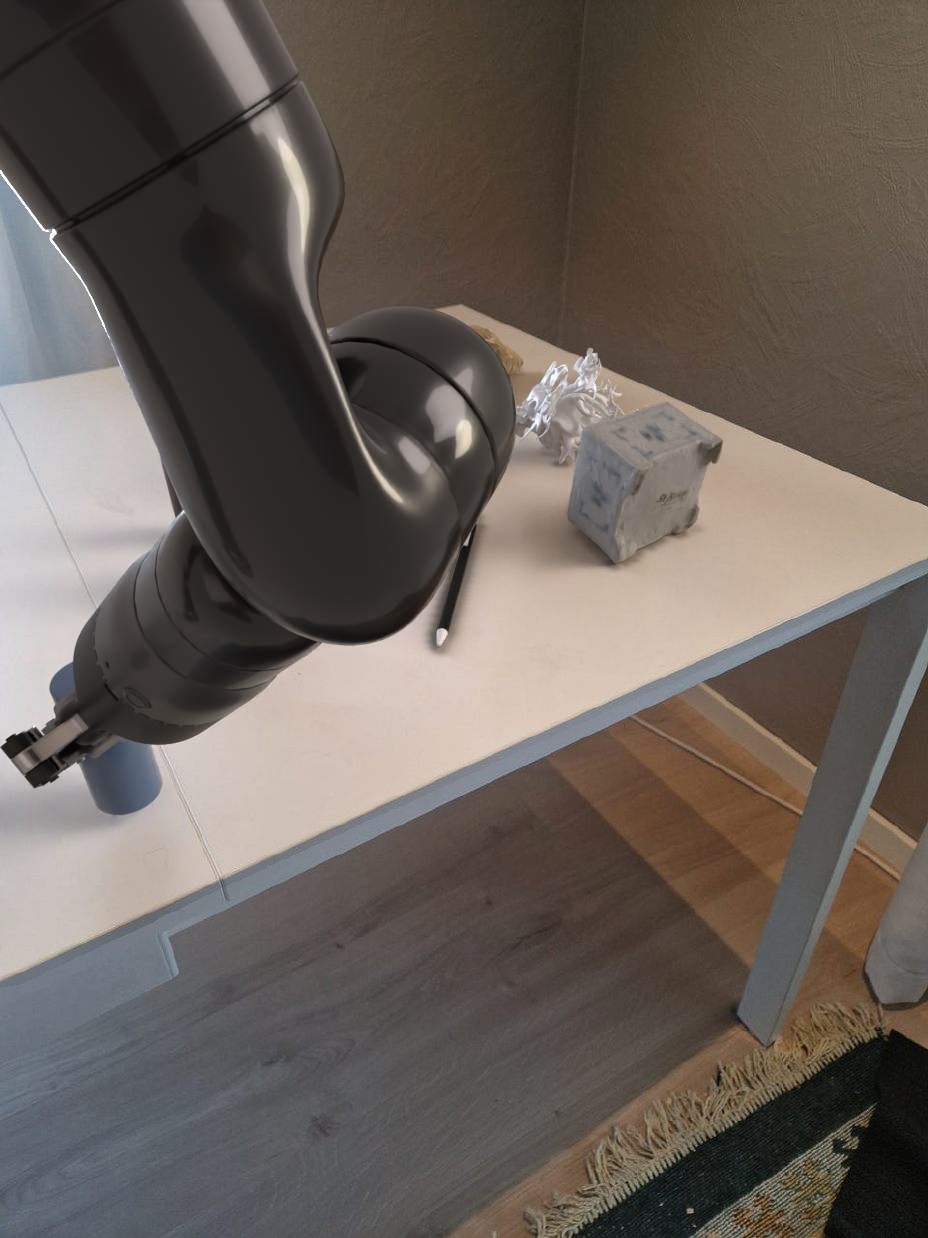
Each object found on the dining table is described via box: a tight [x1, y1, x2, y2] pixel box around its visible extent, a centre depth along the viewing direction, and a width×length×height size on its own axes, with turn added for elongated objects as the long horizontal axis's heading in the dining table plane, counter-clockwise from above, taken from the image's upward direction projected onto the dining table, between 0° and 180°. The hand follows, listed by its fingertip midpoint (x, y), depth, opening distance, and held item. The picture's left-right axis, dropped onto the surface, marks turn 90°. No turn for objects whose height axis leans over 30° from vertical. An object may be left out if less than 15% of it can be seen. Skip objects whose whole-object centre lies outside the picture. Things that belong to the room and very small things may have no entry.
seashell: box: [467, 324, 524, 377], centre depth 102 cm, size 14×8×8 cm
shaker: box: [48, 661, 164, 816], centre depth 50 cm, size 4×4×9 cm
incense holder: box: [566, 401, 724, 565], centre depth 74 cm, size 10×8×10 cm
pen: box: [436, 522, 478, 648], centre depth 72 cm, size 1×19×1 cm, turn 172°
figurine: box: [516, 347, 649, 466], centre depth 87 cm, size 13×15×12 cm
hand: (90, 729), depth 51 cm, fingers closed on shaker, 4 cm apart
